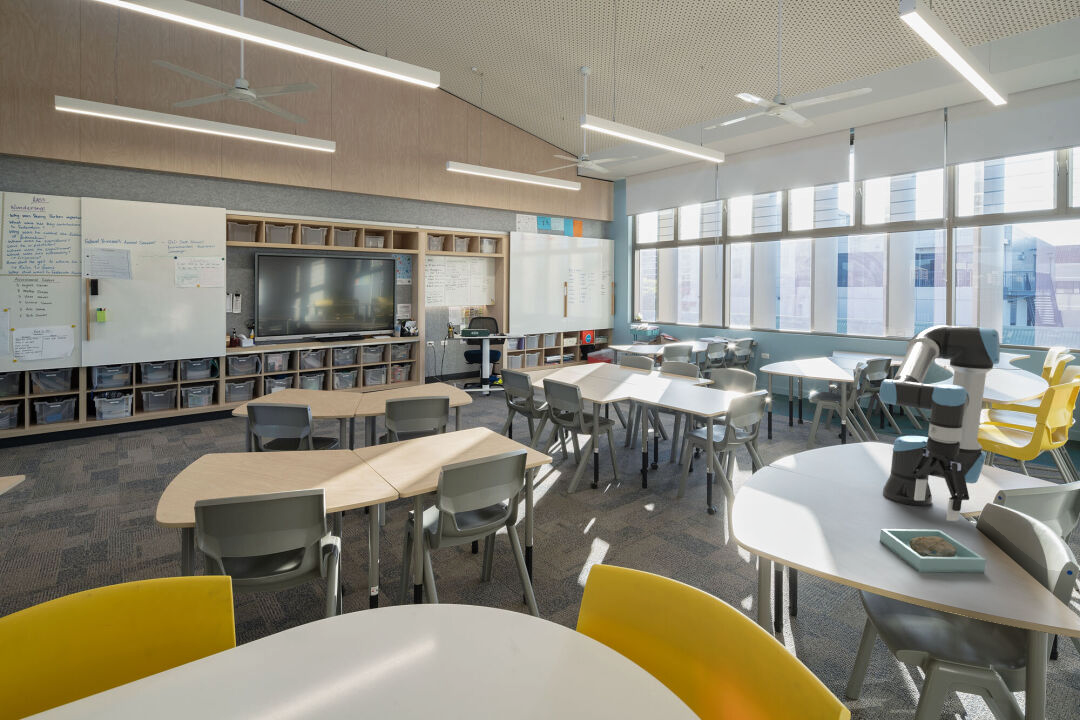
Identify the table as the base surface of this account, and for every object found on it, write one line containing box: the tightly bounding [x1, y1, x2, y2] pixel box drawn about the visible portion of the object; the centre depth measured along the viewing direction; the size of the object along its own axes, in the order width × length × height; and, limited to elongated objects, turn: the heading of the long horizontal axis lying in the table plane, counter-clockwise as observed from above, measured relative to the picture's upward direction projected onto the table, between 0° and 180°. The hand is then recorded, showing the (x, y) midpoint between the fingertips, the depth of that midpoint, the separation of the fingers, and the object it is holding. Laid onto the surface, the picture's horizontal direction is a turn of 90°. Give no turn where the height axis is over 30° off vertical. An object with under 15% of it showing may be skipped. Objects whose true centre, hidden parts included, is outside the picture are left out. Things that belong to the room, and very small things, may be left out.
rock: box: [909, 536, 956, 557], centre depth 161 cm, size 8×11×4 cm
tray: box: [879, 528, 987, 574], centre depth 161 cm, size 18×18×4 cm
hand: (935, 509), depth 160 cm, fingers open, 13 cm apart
